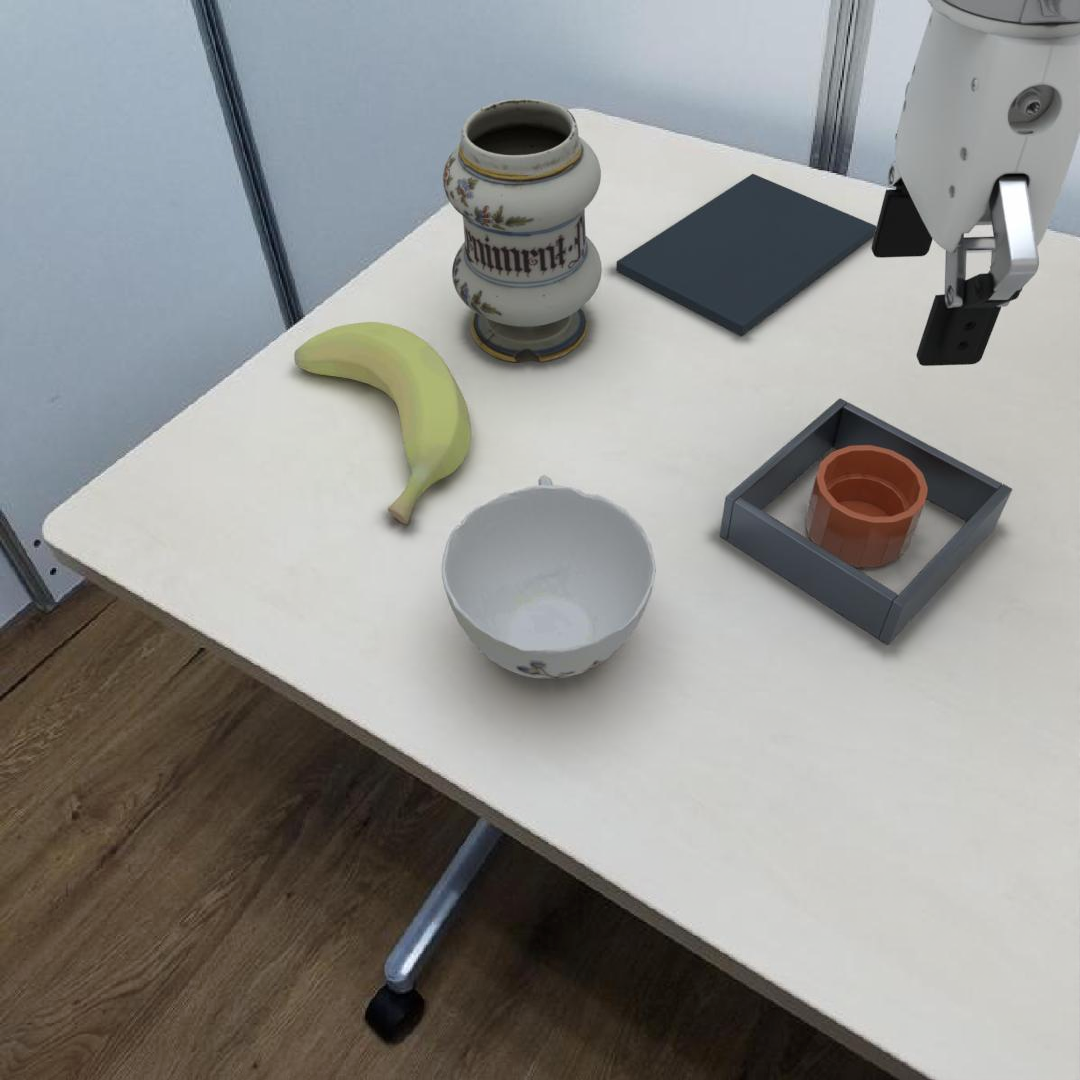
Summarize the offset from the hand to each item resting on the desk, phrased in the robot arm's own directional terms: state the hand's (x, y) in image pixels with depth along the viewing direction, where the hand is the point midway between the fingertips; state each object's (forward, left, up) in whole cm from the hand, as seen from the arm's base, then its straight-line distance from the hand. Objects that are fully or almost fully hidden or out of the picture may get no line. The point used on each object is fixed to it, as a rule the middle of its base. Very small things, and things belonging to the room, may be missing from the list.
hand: (921, 304), depth 55 cm
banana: (+16, -32, -19) cm, 40 cm away
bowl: (0, 0, -19) cm, 19 cm away
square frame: (0, 0, -19) cm, 19 cm away
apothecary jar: (-1, -33, -19) cm, 38 cm away
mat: (-22, -26, -19) cm, 39 cm away
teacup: (+20, -10, -19) cm, 29 cm away
